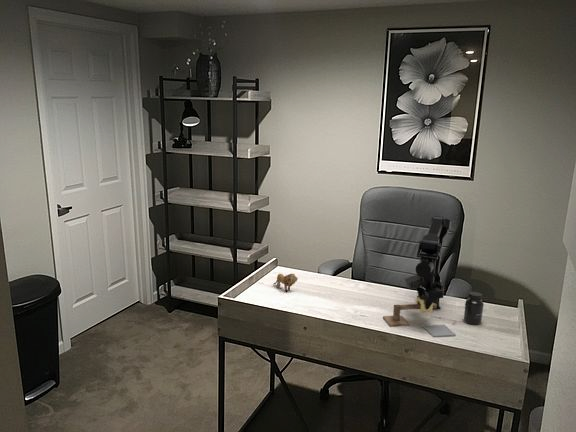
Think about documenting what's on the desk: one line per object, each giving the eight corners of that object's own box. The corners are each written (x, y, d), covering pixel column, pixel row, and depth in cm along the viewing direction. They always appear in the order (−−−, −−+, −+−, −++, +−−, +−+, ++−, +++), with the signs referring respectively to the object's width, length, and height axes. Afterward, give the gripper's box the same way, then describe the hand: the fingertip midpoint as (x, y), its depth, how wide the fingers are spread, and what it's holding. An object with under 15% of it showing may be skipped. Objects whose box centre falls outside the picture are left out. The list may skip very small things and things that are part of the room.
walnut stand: (430, 316, 198) (431, 300, 197) (439, 324, 191) (440, 308, 189) (382, 318, 195) (384, 302, 194) (390, 326, 187) (391, 310, 186)
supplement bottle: (479, 326, 189) (482, 298, 187) (461, 322, 193) (464, 294, 190) (482, 320, 195) (486, 293, 193) (465, 316, 199) (468, 289, 196)
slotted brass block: (427, 307, 195) (428, 295, 194) (432, 312, 191) (433, 299, 190) (415, 308, 195) (416, 295, 193) (420, 312, 190) (421, 299, 189)
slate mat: (444, 325, 189) (444, 324, 189) (455, 336, 181) (455, 334, 181) (423, 326, 188) (423, 325, 188) (433, 337, 179) (433, 335, 179)
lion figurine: (299, 292, 222) (299, 273, 220) (291, 294, 218) (291, 276, 216) (277, 283, 232) (277, 266, 230) (269, 286, 228) (269, 268, 226)
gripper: (399, 263, 197) (396, 298, 200) (418, 278, 179) (415, 317, 182) (424, 262, 199) (421, 297, 202) (446, 277, 181) (442, 316, 184)
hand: (424, 306), depth 192 cm, fingers closed on slotted brass block, 5 cm apart
